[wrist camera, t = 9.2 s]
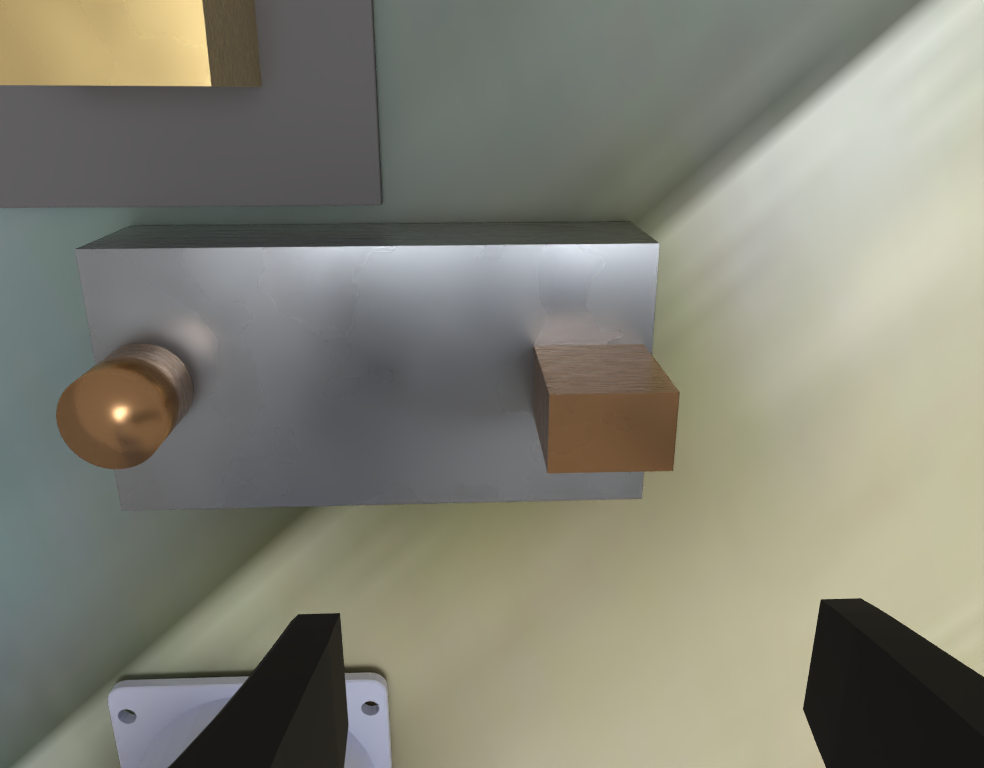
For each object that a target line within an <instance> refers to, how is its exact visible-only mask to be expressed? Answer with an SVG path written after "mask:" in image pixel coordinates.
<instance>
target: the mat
mask: <svg viewBox="0 0 984 768" xmlns="http://www.w3.org/2000/svg"><path fill="white" fill-rule="evenodd" d="M255 12H256V23H257V35H258V46H259V58H260V69H261V81H262V87H186V86H36V85H0V208H42V207H170V206H298V205H381V204H382V183H381V162H380V141H379V120H378V99H377V78H376V57H375V35H374V14H373V0H255Z"/></svg>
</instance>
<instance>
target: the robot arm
mask: <svg viewBox="0 0 984 768" xmlns="http://www.w3.org/2000/svg"><path fill="white" fill-rule="evenodd" d="M368 701H373V702H375V703H377V705H374V706H369V705H366V704H365V702H368ZM108 707H109V712H110V717H111V721H112V726H113V731H114V736H115V741H116V746H117V751H118V756H119V761H120V765H121V768H392V755H391V737H390V719H389V702H388V685H387V682H386V680H385V679H384V678H383V677H382V676H381V675H379V674H377V673H370V672H368V673H345V672H344V659H343V646H342V634H341V621H340V613H332V614H298V615H297V616H296V617H295V618H294V619H293V620H292V621H291V622H290V624H289V625H288V626H287V628H286V629H285V630H284V632H283V633H282V634H281V636H280V637H279V638H278V640H277V641H276V643H275V644H274V645H273V647H272V648H271V649H270V650H269V652H268V653H267V654H266V656H265V657H264V658H263V660H262V661H261V662H260V663H259V665H258V666H257V667H256V668H255V670H254V671H253V672H252V674H251V675H250V676H242V677H210V678H178V679H147V680H125V681H120V682H118V683H117V684H115V685H114V687H113V688H112V690H111V692H110V694H109V695H108ZM124 709H128V710H132V711H133V712H135V714H131V713H128V712H126V711H125V710H124ZM803 710H804V713H805V715H806V718H807V721H808V723H809V726H810V728H811V731H812V734H813V736H814V739H815V742H816V744H817V747H818V749H819V752H820V754H821V756H822V759H823V761H824V764H825V766H826V768H984V677H983V676H982V675H980V674H978V673H977V672H975V671H974V670H972V669H971V668H969V667H968V666H966V665H964V664H963V663H961V662H960V661H958V660H957V659H955V658H954V657H952V656H951V655H949V654H948V653H946V652H945V651H943V650H941V649H940V648H938V647H937V646H935V645H934V644H932V643H931V642H929V641H928V640H926V639H925V638H923V637H922V636H920V635H919V634H917V633H916V632H914V631H913V630H911V629H910V628H908V627H906V626H905V625H903V624H902V623H900V622H899V621H897V620H896V619H894V618H893V617H891V616H889V615H888V614H886V613H885V612H883V611H881V610H880V609H878V608H876V607H875V606H873V605H871V604H870V603H868V602H866V601H864V600H863V599H861V598H858V599H823V600H821V602H820V608H819V614H818V620H817V626H816V633H815V639H814V645H813V651H812V657H811V663H810V670H809V676H808V682H807V688H806V694H805V700H804V707H803Z"/></svg>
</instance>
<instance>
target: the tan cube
mask: <svg viewBox="0 0 984 768" xmlns="http://www.w3.org/2000/svg"><path fill="white" fill-rule="evenodd" d="M0 85H36V86H186V87H262V81H261V69H260V58H259V46H258V35H257V23H256V12H255V0H0Z"/></svg>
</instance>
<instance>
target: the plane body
mask: <svg viewBox="0 0 984 768" xmlns="http://www.w3.org/2000/svg"><path fill="white" fill-rule="evenodd" d="M75 252H76V258H77V263H78V269H79V274H80V280H81V286H82V291H83V297H84V302H85V308H86V313H87V319H88V325H89V330H90V336H91V341H92V347H93V353H94V358H95V364H96V365H95V366H94V367H93V368H91V369H90V370H89V371H87V372H86V373H85V374H84V375H82V376H81V377H80V378H78V379H77V380H76V381H74V382H73V383H72V384H71V385H69V386H68V387H67V388H66V390H65V391H64V392H63V394H62V395H61V397H60V399H59V402H58V405H57V411H56V418H57V425H58V428H59V431H60V434H61V436H62V438H63V439H64V441H65V443H66V444H67V445H68V446H69V448H70V449H71V450H72V451H73V452H74V453H75V454H77V455H78V456H79V457H81V458H82V459H84V460H85V461H87V462H89V463H91V464H93V465H96V466H99V467H103V468H108V469H114V470H115V475H116V481H117V487H118V492H119V498H120V503H121V509H122V511H129V510H172V509H215V508H259V507H302V506H345V505H389V504H432V503H475V502H519V501H562V500H605V499H642V489H643V475H644V471H673V465H674V453H675V441H676V428H677V416H678V404H679V391H678V390H677V388H676V387H675V386H674V384H673V383H672V382H671V380H670V379H669V378H668V376H667V375H666V374H665V372H664V371H663V369H662V368H661V367H660V365H659V364H658V363H657V361H656V360H655V359H654V357H653V356H652V345H653V330H654V316H655V301H656V287H657V272H658V258H659V243H658V242H657V241H656V240H654V239H653V238H652V237H650V236H649V235H648V234H646V233H645V232H643V231H642V230H641V229H639V228H638V227H637V226H635V225H634V224H633V223H631V222H518V223H404V224H290V225H176V226H129V227H127V228H124V229H122V230H119V231H117V232H115V233H112V234H110V235H108V236H105V237H103V238H100V239H98V240H96V241H93V242H91V243H89V244H86V245H84V246H82V247H79V248H77V249H75Z"/></svg>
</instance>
